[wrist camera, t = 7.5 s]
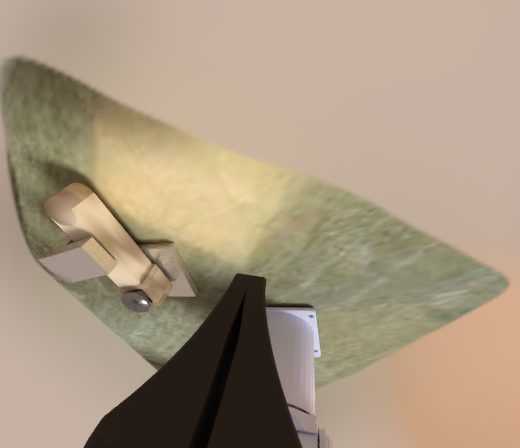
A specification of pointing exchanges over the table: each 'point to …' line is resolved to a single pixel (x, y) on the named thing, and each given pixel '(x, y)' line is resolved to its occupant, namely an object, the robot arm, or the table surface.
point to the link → (107, 240)
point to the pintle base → (172, 269)
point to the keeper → (78, 260)
